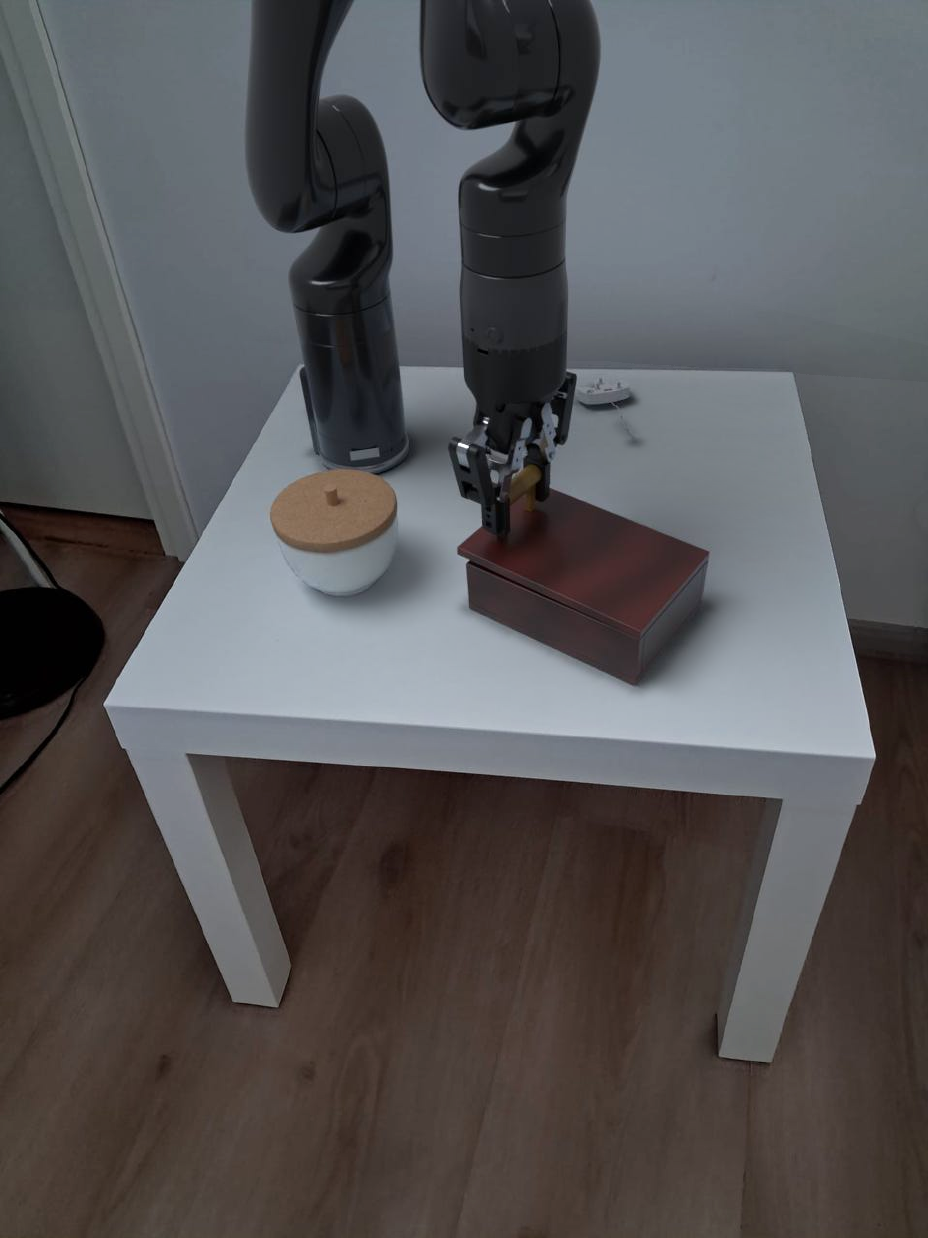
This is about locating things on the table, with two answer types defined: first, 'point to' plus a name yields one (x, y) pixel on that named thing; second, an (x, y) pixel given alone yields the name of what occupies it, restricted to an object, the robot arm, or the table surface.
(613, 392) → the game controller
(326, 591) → the trinket box
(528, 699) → the table surface
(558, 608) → the mahogany keepsake chest
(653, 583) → the cover
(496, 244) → the robot arm
